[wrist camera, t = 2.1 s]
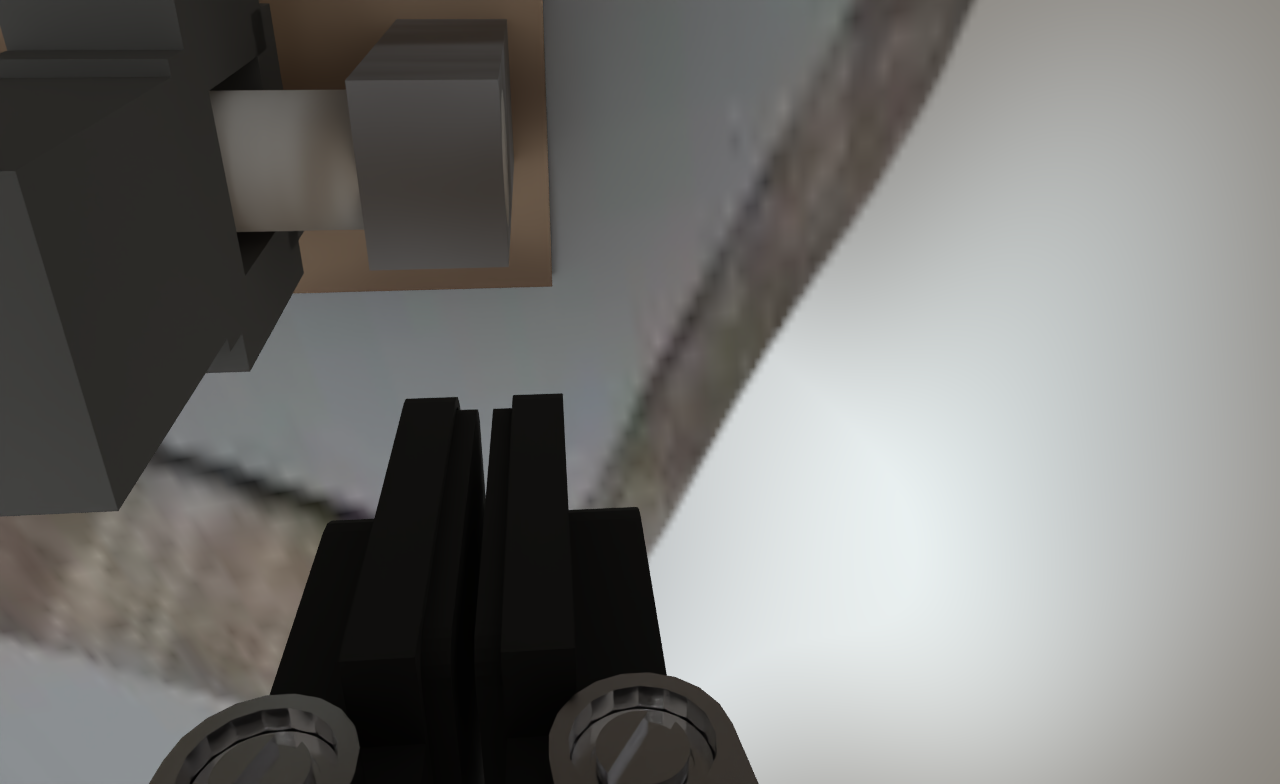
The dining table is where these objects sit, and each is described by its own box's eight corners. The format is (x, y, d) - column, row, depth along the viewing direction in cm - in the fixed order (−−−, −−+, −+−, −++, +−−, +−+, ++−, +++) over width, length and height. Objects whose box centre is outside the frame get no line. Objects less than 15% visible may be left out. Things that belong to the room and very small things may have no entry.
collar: (128, -39, 22) (-301, 68, 11) (262, -39, 23) (-17, 67, 11) (195, 263, 26) (-75, 587, 14) (310, 260, 26) (138, 576, 15)
